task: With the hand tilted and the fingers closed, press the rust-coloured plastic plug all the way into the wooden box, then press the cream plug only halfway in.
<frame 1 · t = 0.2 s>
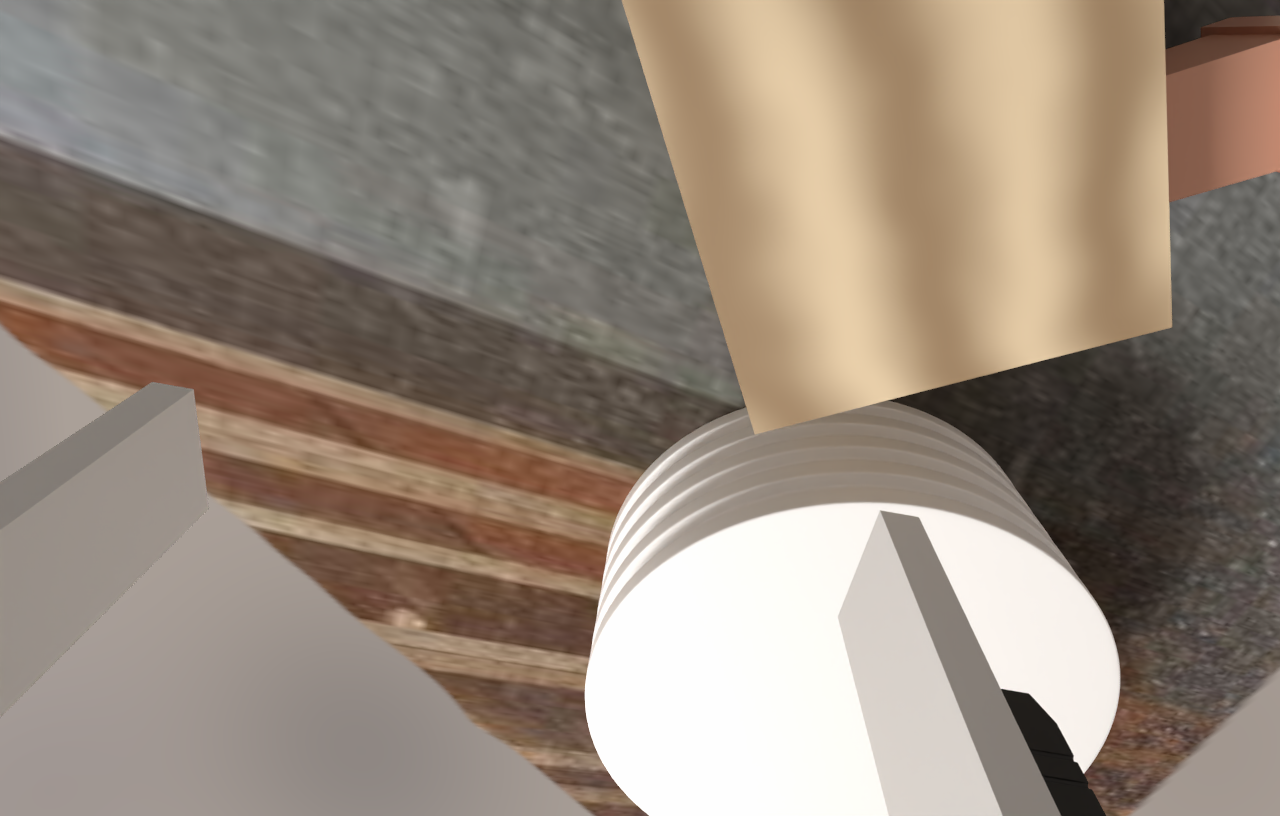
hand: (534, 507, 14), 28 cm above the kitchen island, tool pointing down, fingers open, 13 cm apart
rust plug: (1059, 156, 32), point 5 cm above the kitchen island, slide at 0.0 cm
wooden box: (838, 79, 36), on the kitchen island
plate stack: (811, 576, 50), on the kitchen island
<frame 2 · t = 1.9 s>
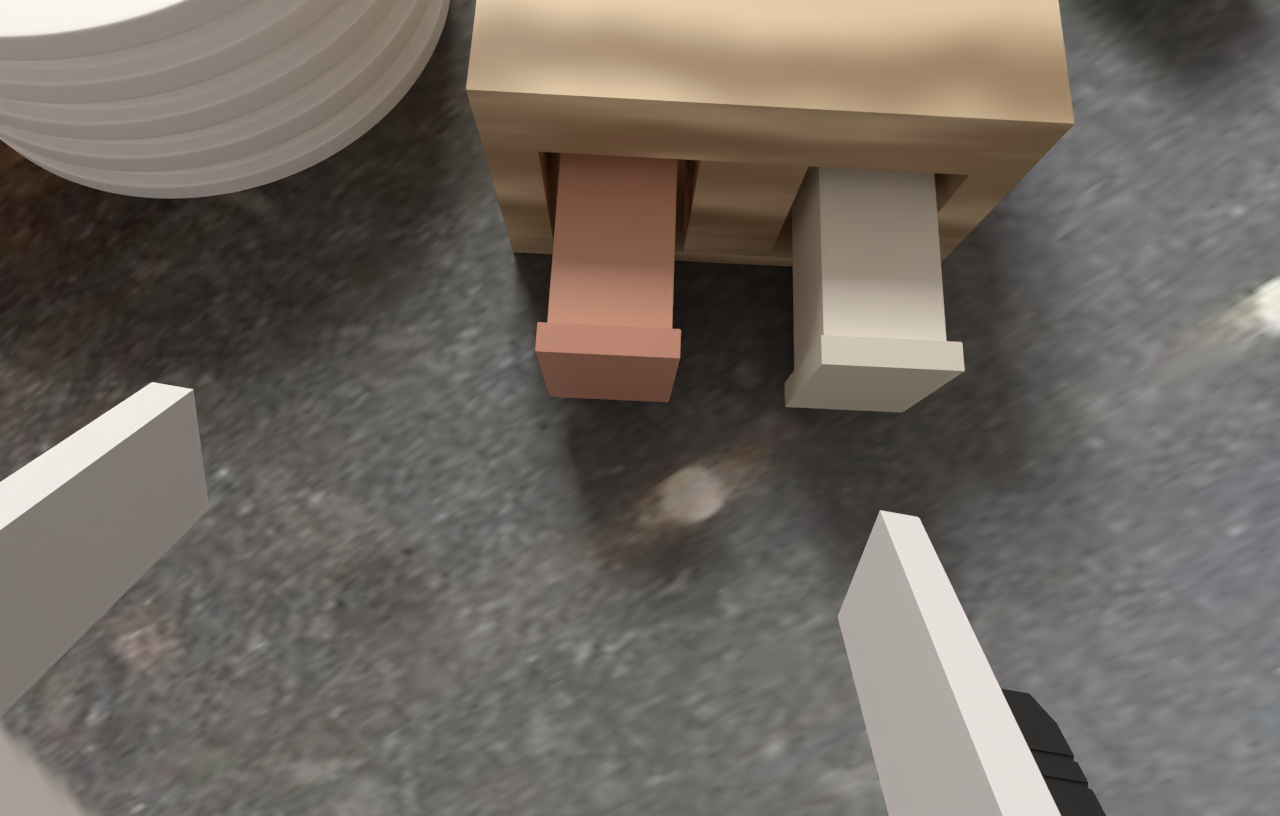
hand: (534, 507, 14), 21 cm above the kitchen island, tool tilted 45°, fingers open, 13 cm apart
rust plug: (618, 200, 33), point 5 cm above the kitchen island, slide at 0.0 cm
wooden box: (724, 131, 40), on the kitchen island
cream plug: (858, 212, 34), point 5 cm above the kitchen island, slide at 0.0 cm
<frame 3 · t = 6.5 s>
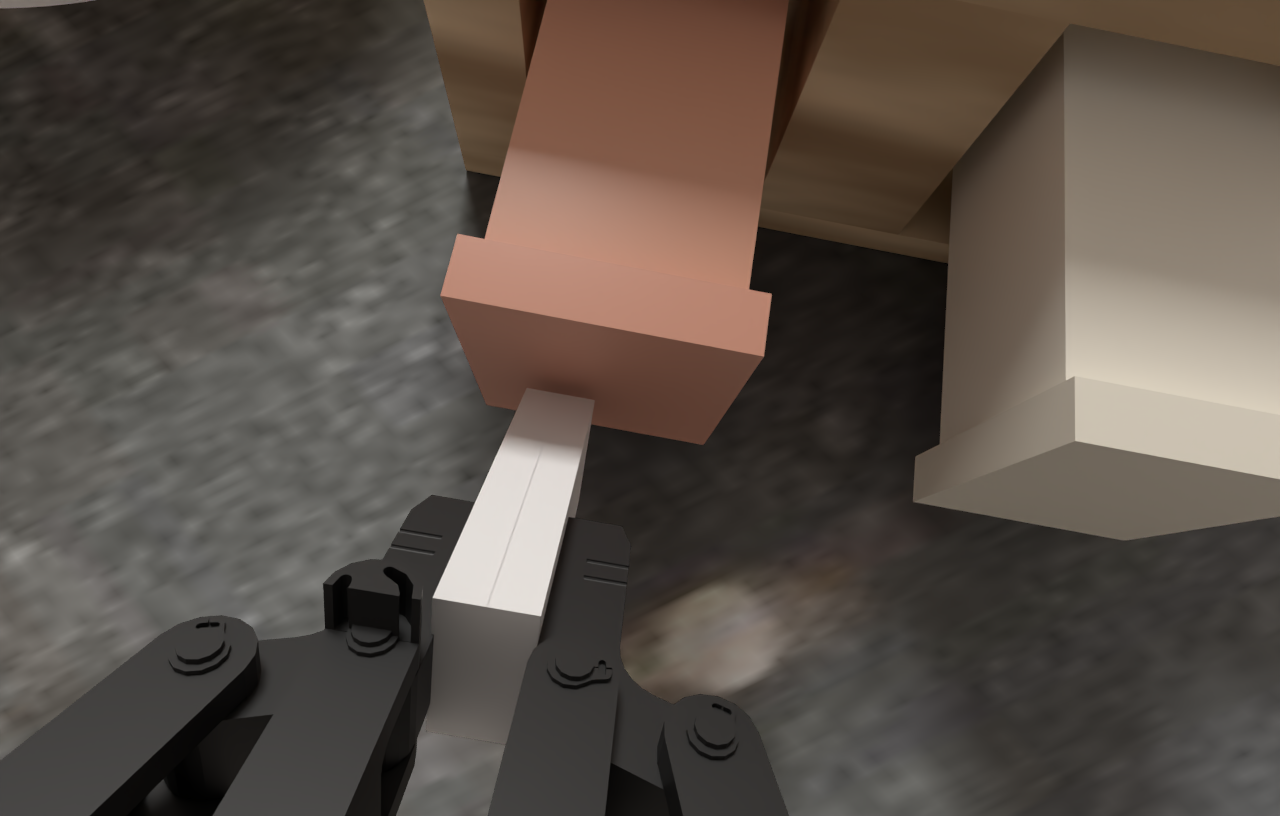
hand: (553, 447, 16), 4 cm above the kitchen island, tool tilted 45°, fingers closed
rust plug: (662, 61, 18), point 5 cm above the kitchen island, slide at 0.5 cm, touching gripper
wooden box: (838, 34, 25), on the kitchen island
cream plug: (1097, 163, 18), point 5 cm above the kitchen island, slide at 0.0 cm
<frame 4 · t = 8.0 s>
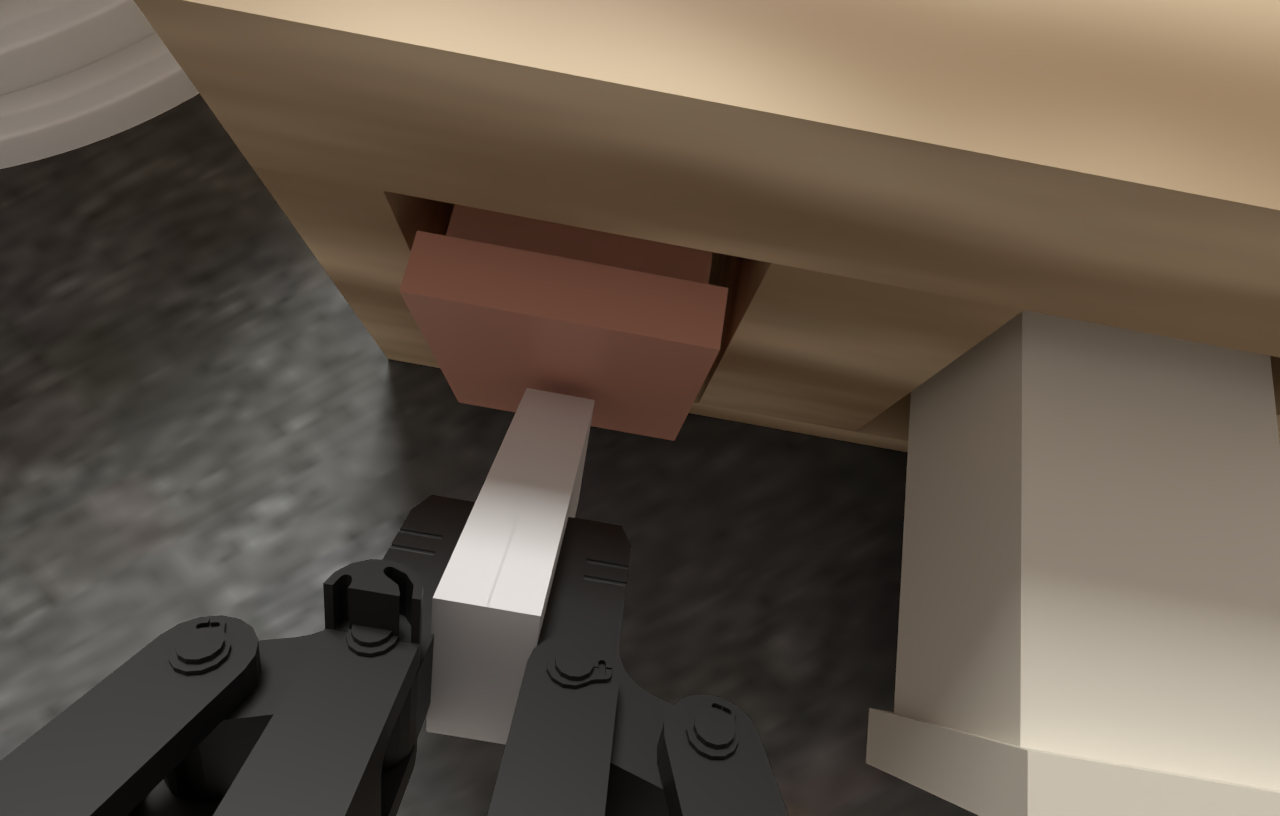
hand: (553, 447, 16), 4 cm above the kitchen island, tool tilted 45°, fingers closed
rust plug: (630, 60, 18), point 5 cm above the kitchen island, slide at 6.8 cm, touching gripper
wooden box: (795, 190, 23), on the kitchen island
cream plug: (1065, 394, 16), point 5 cm above the kitchen island, slide at 0.0 cm
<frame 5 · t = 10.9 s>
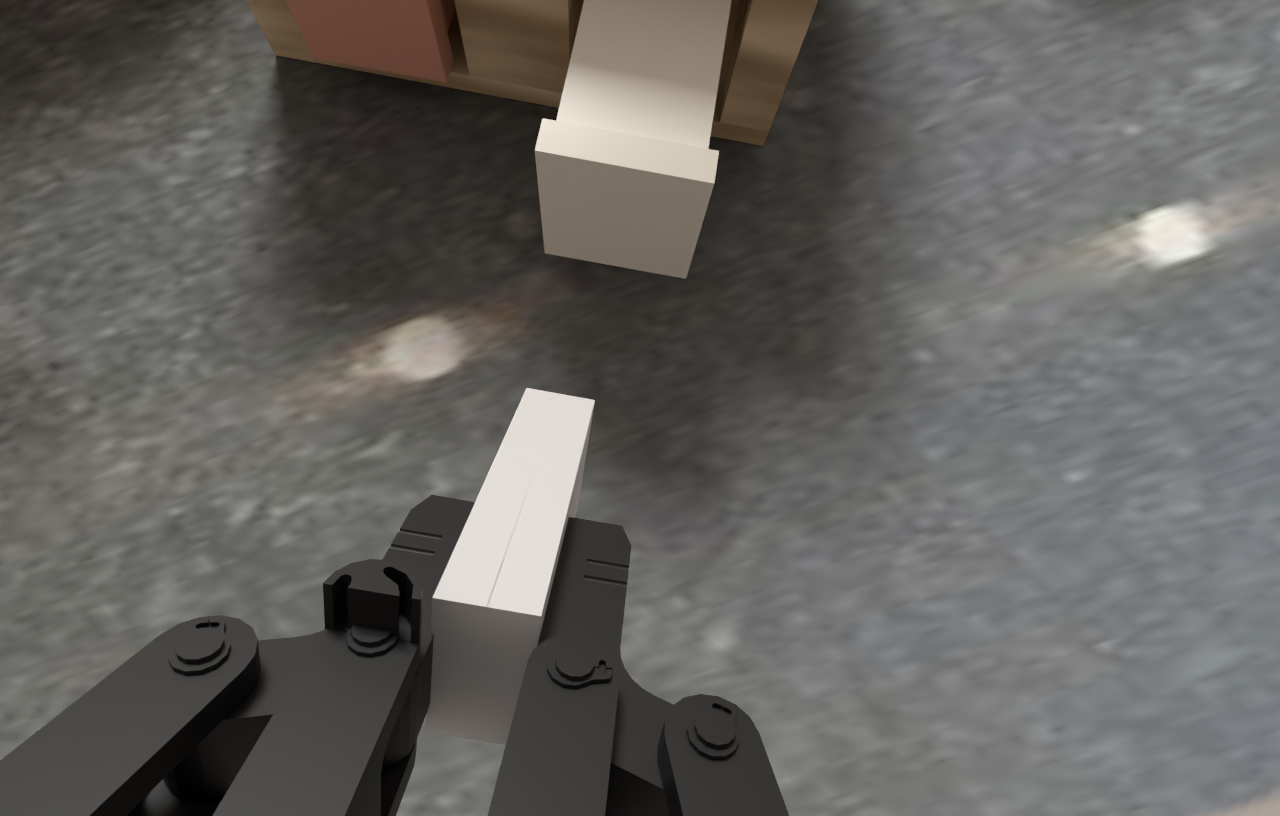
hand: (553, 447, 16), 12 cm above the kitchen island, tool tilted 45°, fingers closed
cream plug: (656, 28, 28), point 5 cm above the kitchen island, slide at 0.0 cm
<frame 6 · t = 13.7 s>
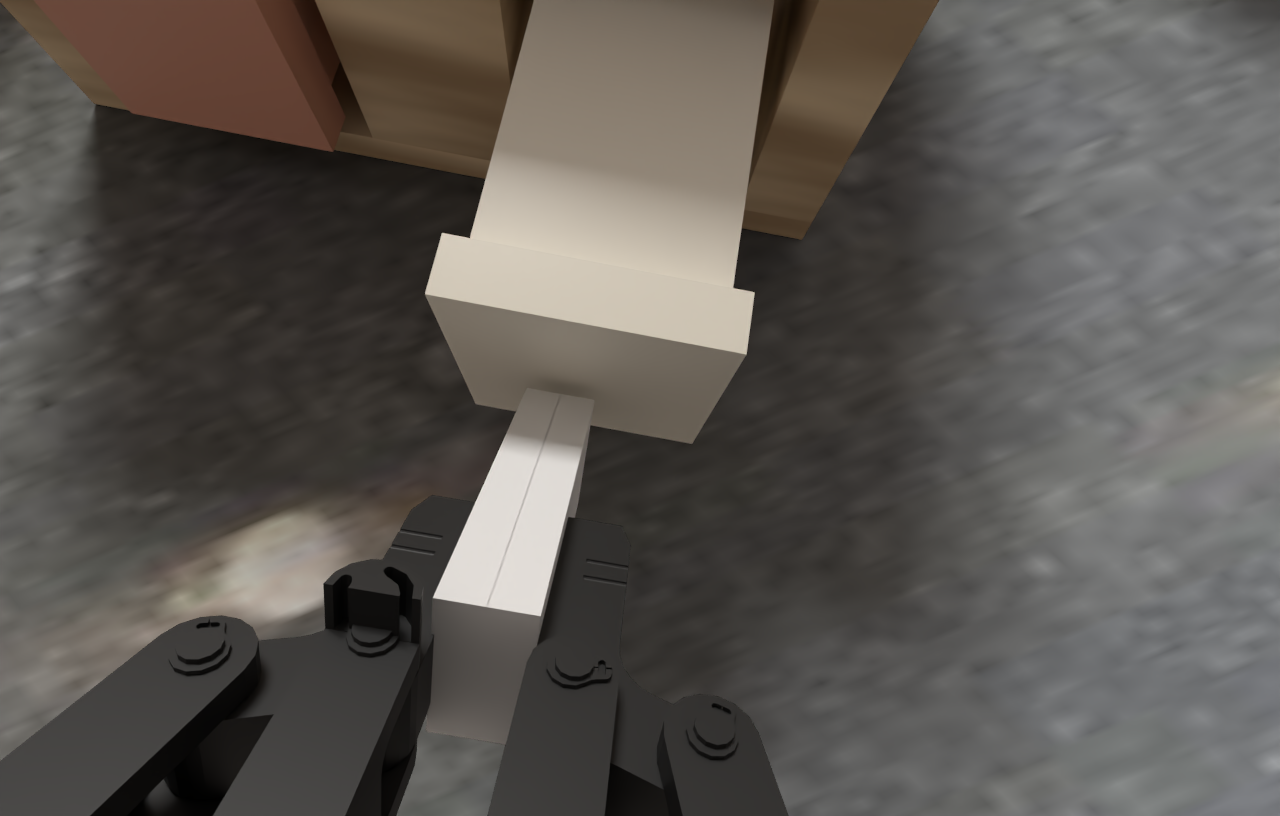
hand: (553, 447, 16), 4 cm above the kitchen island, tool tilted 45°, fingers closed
cream plug: (650, 61, 18), point 5 cm above the kitchen island, slide at 0.6 cm, touching gripper
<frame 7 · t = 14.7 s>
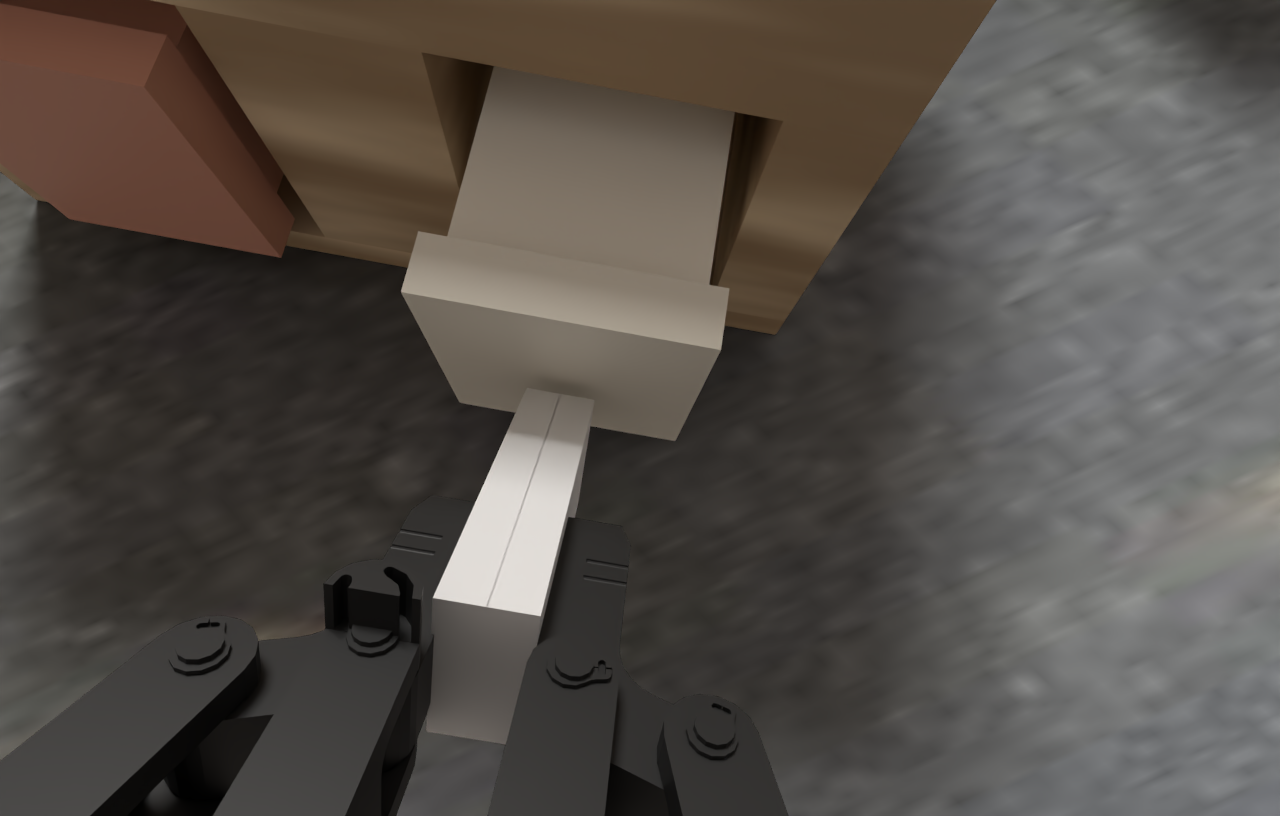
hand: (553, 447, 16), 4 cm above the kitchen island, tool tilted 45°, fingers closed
wooden box: (472, 52, 24), on the kitchen island
cream plug: (631, 61, 18), point 5 cm above the kitchen island, slide at 3.9 cm, touching gripper
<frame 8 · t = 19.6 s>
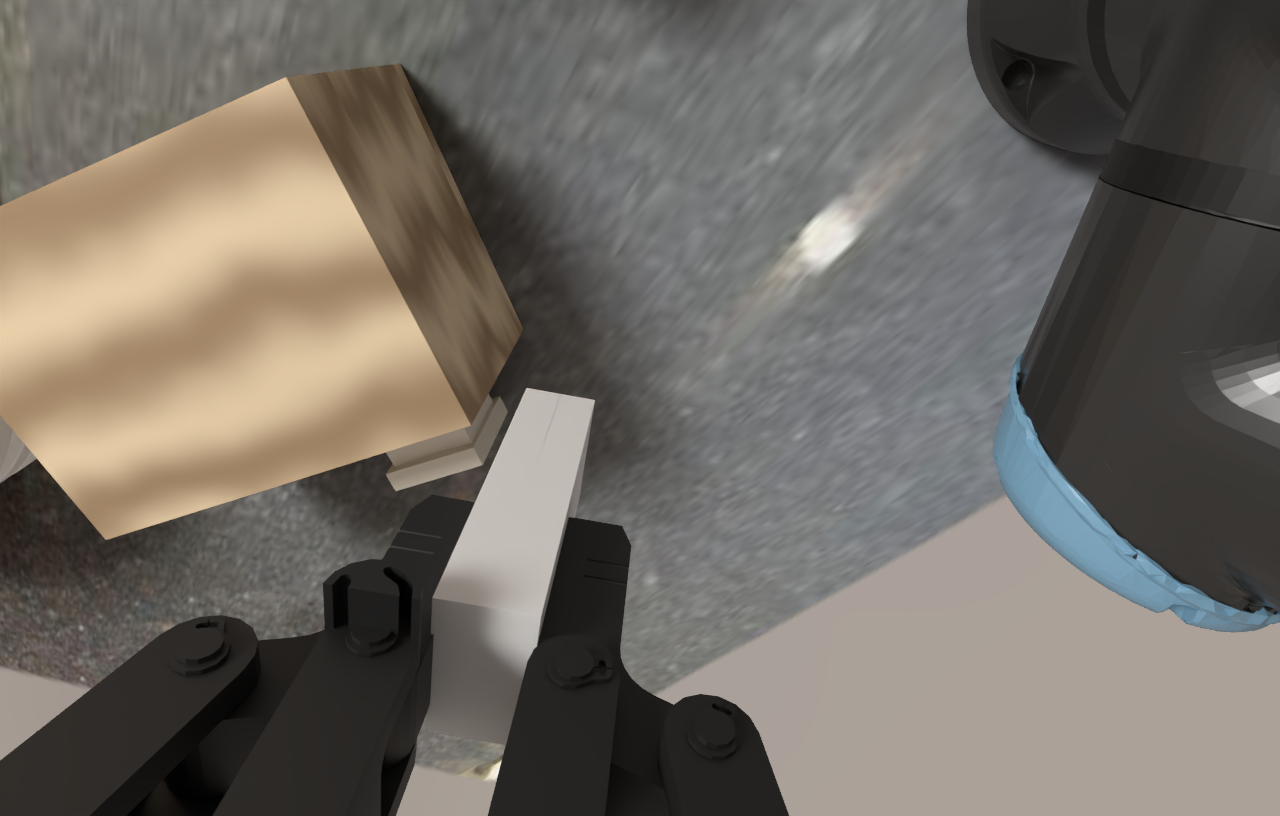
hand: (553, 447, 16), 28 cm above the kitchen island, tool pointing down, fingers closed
wooden box: (306, 268, 45), on the kitchen island
cream plug: (384, 322, 40), point 5 cm above the kitchen island, slide at 3.9 cm
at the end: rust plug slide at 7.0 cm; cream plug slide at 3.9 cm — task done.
